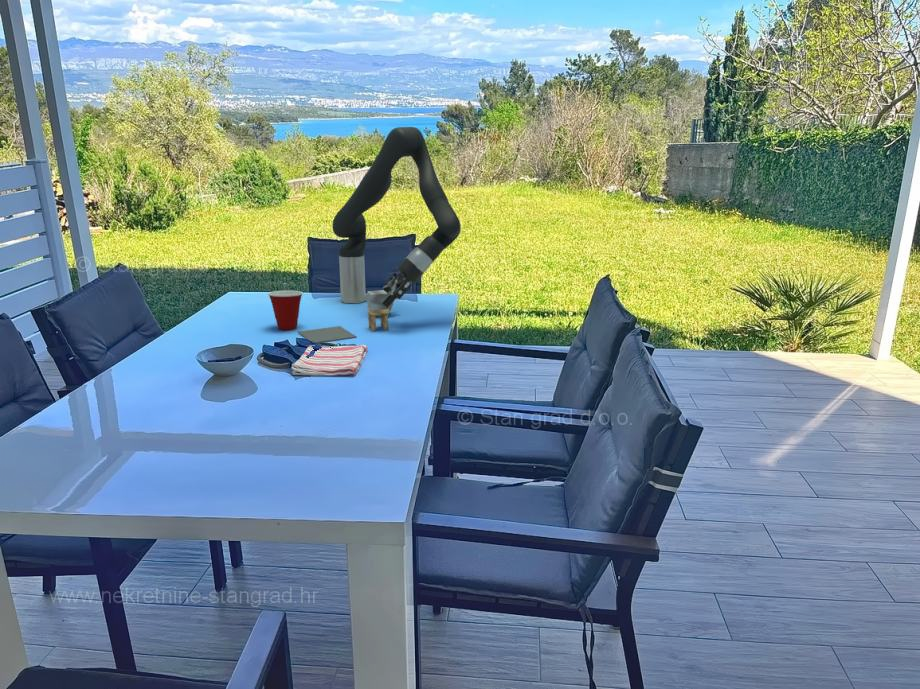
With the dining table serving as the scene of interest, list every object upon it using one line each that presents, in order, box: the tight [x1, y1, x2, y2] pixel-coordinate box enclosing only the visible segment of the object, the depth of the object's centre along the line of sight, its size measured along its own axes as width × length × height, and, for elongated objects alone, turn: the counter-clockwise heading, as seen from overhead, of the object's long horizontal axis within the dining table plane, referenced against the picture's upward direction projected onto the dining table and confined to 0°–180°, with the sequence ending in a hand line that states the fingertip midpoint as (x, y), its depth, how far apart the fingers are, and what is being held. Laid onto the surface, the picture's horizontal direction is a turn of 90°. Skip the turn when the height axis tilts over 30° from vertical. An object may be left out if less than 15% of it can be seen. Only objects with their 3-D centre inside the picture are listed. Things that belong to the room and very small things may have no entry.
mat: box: [297, 325, 357, 344], centre depth 208 cm, size 14×14×1 cm
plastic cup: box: [267, 290, 304, 331], centre depth 214 cm, size 11×11×12 cm
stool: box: [366, 289, 390, 332], centre depth 214 cm, size 6×6×12 cm
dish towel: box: [290, 344, 369, 377], centre depth 182 cm, size 17×23×4 cm
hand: (381, 302), depth 213 cm, fingers open, 8 cm apart
